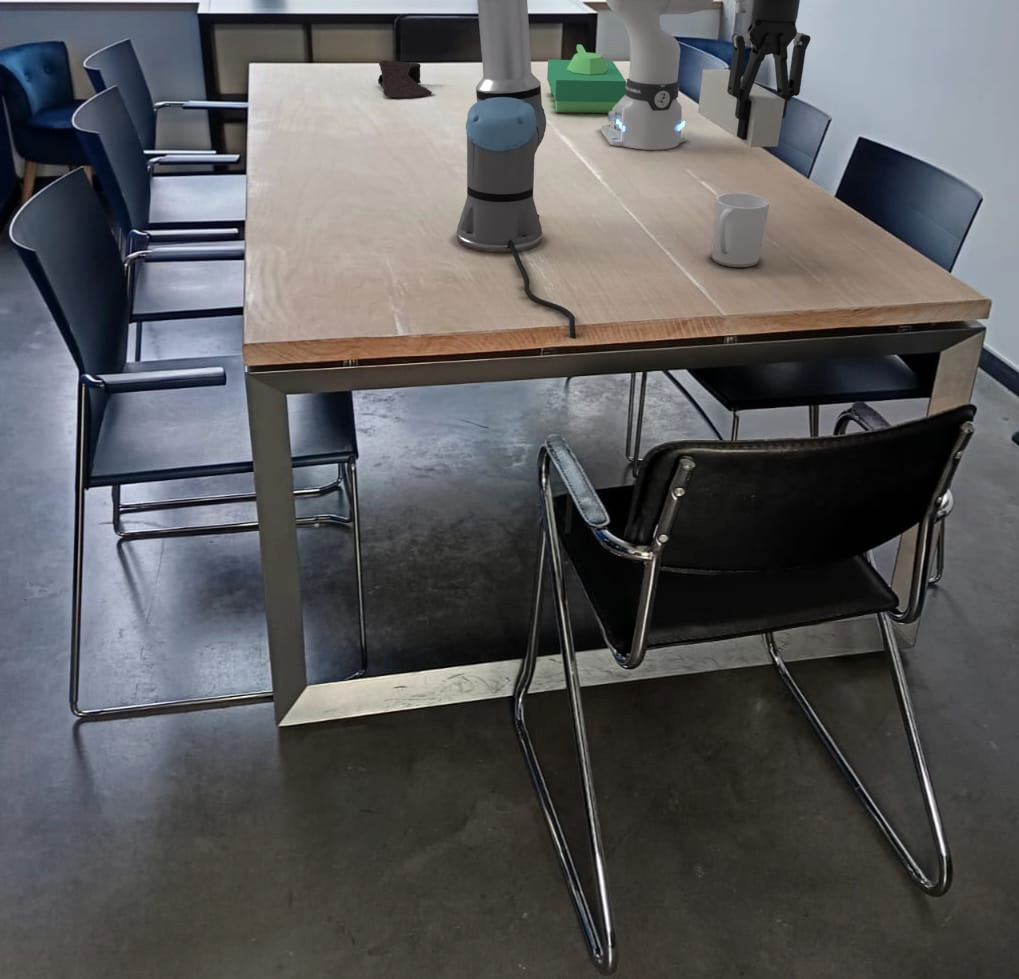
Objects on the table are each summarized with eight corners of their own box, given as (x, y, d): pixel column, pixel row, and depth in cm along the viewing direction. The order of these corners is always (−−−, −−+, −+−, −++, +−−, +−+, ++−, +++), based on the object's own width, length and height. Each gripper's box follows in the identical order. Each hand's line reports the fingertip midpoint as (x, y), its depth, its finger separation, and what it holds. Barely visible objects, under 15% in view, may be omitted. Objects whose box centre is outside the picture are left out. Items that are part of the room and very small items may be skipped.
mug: (725, 247, 195) (732, 189, 189) (770, 259, 190) (779, 200, 184) (692, 263, 187) (699, 203, 182) (739, 275, 183) (747, 215, 177)
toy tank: (609, 41, 303) (627, 65, 273) (606, 87, 310) (623, 116, 280) (546, 39, 302) (556, 64, 272) (544, 86, 309) (554, 115, 279)
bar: (777, 146, 192) (785, 99, 188) (750, 147, 191) (757, 100, 187) (722, 112, 213) (728, 69, 209) (697, 112, 212) (702, 69, 208)
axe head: (443, 87, 294) (392, 77, 287) (436, 115, 299) (385, 106, 292) (421, 62, 307) (371, 52, 300) (414, 89, 311) (365, 80, 304)
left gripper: (817, -9, 187) (795, 131, 199) (717, -9, 183) (701, 133, 195) (838, -3, 180) (813, 141, 192) (735, -3, 177) (716, 144, 189)
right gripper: (824, -72, 199) (812, 10, 207) (716, -73, 197) (707, 10, 204) (838, -69, 194) (824, 15, 201) (727, -70, 191) (717, 15, 199)
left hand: (756, 137), depth 194 cm, fingers closed on bar, 5 cm apart
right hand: (764, 12), depth 203 cm, fingers open, 8 cm apart
